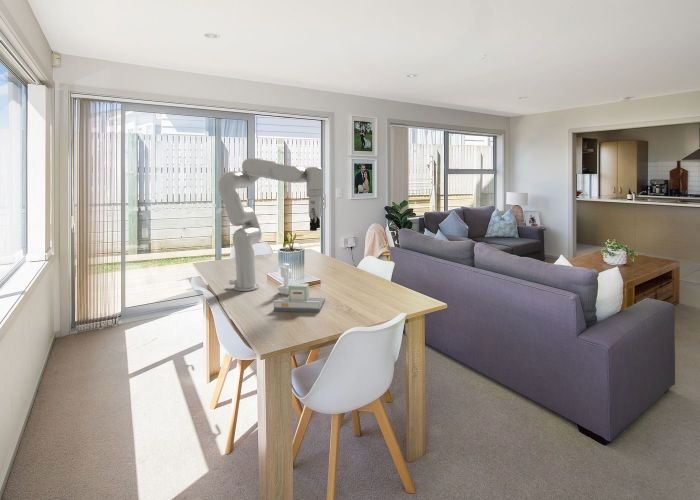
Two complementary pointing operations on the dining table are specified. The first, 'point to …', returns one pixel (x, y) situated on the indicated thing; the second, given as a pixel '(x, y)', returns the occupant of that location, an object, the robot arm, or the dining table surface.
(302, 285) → the tea box
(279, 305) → the grey flat box
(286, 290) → the figurine
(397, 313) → the dining table surface
